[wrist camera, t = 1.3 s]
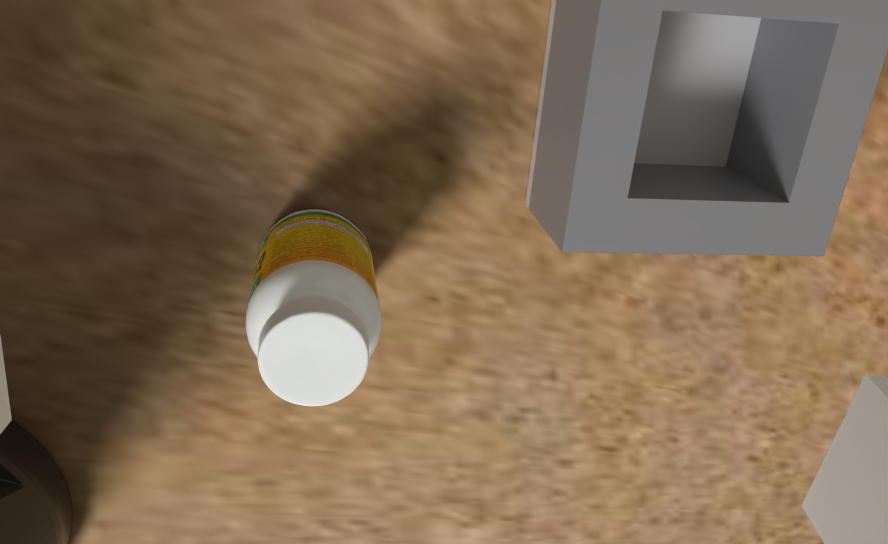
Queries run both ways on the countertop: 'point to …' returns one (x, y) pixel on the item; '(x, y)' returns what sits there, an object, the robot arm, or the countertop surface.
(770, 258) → the countertop surface
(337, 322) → the supplement bottle
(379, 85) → the countertop surface
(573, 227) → the well
